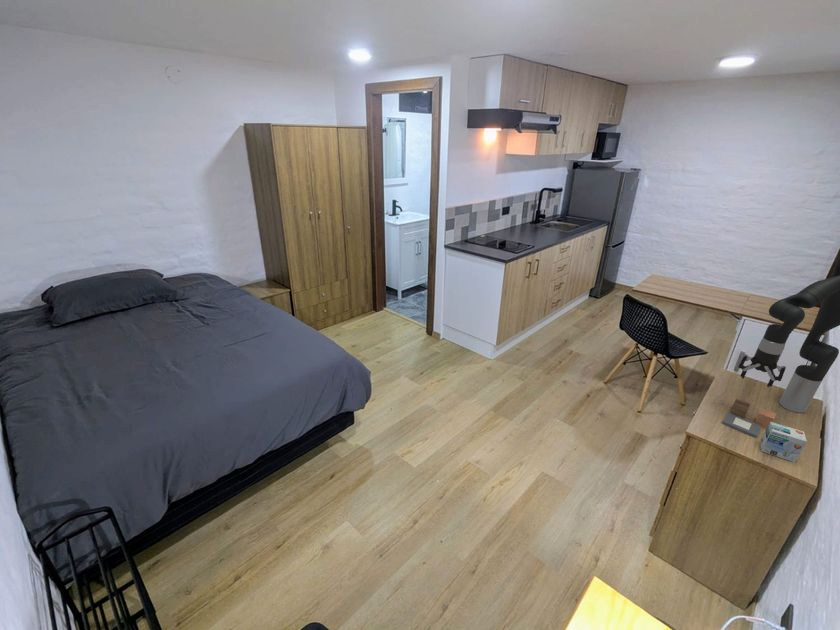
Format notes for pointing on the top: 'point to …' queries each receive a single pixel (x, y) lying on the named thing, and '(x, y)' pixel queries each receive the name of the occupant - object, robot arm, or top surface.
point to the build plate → (742, 425)
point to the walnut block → (739, 408)
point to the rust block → (765, 418)
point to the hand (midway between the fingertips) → (755, 382)
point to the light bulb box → (783, 441)
